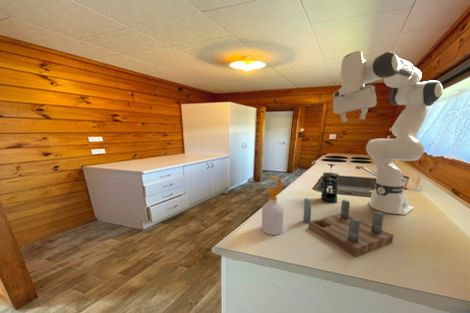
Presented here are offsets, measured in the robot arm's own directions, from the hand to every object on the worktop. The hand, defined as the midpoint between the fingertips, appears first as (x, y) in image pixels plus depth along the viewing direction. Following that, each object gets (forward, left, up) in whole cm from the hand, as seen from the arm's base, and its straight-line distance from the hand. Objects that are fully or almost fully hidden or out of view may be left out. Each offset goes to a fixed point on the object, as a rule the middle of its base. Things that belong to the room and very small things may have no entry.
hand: (353, 120), depth 90 cm
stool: (+12, +10, -48) cm, 51 cm away
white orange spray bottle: (+39, -6, -48) cm, 62 cm away
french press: (-15, -22, -48) cm, 55 cm away
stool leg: (+19, -6, -48) cm, 52 cm away
